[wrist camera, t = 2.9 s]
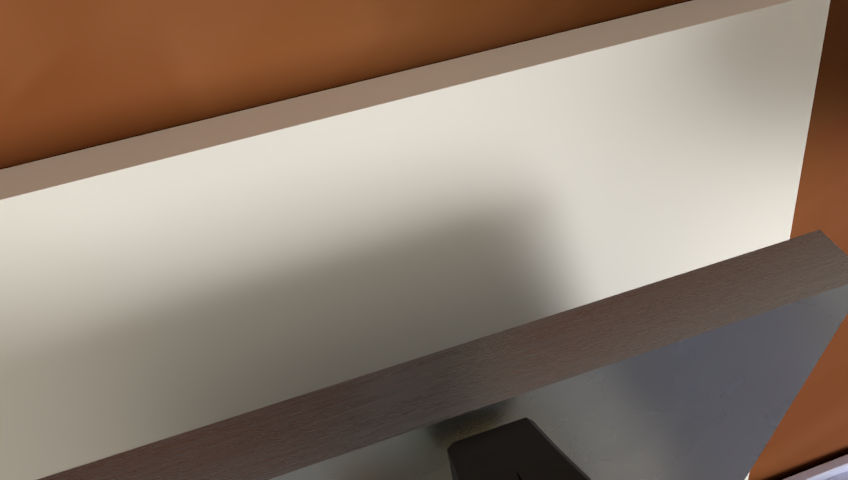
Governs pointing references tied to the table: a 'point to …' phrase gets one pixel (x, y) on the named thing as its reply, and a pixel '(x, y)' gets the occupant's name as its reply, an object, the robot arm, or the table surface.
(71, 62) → the table surface
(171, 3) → the table surface
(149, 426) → the base board
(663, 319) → the plate
